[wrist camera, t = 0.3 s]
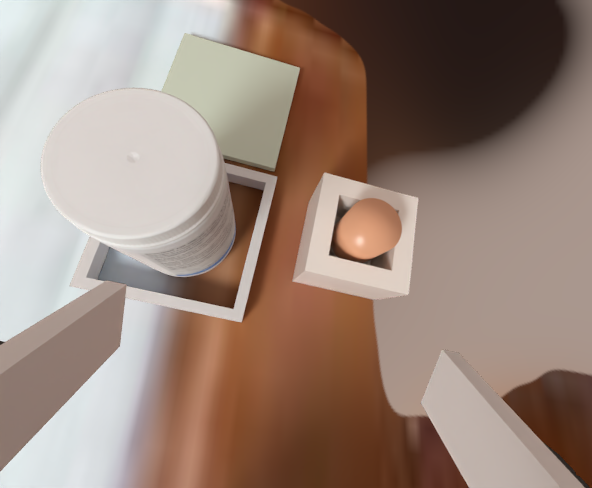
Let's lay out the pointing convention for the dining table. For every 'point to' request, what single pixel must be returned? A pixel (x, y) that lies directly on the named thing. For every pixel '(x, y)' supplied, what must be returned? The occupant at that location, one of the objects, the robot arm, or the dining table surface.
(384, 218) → the button
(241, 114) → the mat
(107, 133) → the supplement tub
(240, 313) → the frame
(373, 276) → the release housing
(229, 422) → the dining table surface
